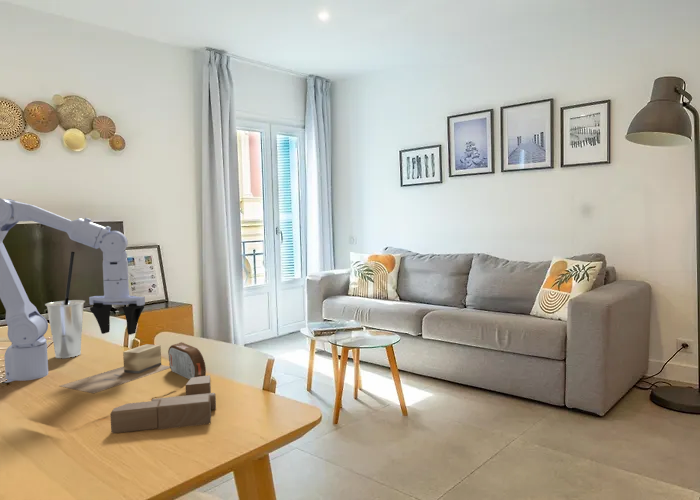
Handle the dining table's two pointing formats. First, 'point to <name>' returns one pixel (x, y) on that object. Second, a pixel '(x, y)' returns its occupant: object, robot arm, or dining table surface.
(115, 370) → the plank
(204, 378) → the wooden block set
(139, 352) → the block
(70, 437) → the dining table surface
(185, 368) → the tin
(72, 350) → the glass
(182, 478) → the dining table surface
